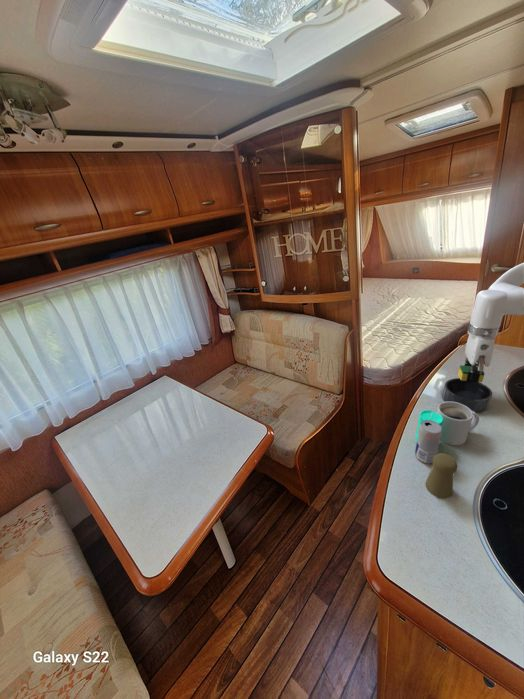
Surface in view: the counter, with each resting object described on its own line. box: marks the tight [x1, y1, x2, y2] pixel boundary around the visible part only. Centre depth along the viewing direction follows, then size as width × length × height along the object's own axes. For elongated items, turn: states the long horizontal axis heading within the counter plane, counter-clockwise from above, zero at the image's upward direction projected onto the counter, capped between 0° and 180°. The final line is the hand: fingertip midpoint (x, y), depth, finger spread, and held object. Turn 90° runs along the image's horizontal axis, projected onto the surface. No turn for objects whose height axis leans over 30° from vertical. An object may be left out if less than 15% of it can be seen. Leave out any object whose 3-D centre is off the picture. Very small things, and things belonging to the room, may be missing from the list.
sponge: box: [457, 364, 485, 383], centre depth 94 cm, size 6×4×4 cm
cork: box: [425, 452, 459, 499], centre depth 69 cm, size 6×6×11 cm
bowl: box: [442, 377, 493, 414], centre depth 97 cm, size 14×14×6 cm
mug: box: [436, 401, 480, 446], centre depth 84 cm, size 11×10×10 cm
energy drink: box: [414, 420, 442, 464], centre depth 78 cm, size 5×5×12 cm
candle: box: [415, 409, 443, 444], centre depth 82 cm, size 6×6×12 cm
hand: (470, 377), depth 94 cm, fingers closed on sponge, 4 cm apart
